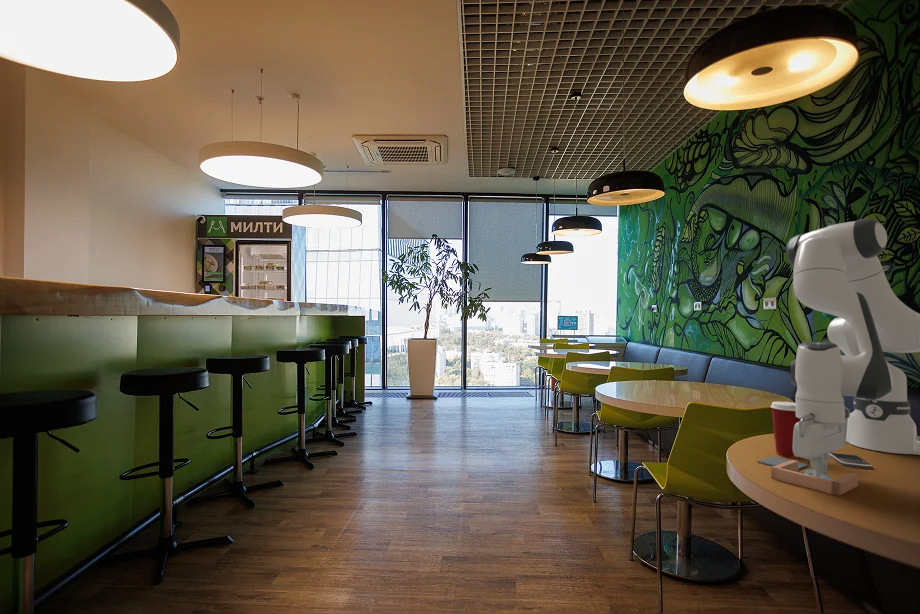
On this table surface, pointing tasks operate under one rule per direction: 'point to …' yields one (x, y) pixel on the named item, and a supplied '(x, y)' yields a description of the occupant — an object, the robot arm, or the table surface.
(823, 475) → the pacifier
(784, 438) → the paper cup
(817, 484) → the pink u-shaped bracket
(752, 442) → the table surface
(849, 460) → the cell phone
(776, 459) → the gray tile
